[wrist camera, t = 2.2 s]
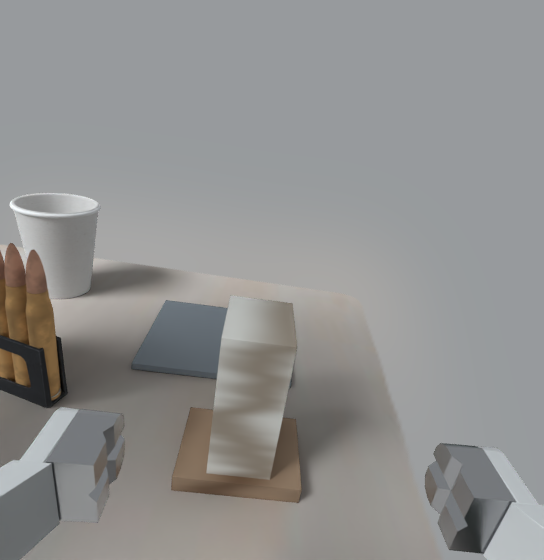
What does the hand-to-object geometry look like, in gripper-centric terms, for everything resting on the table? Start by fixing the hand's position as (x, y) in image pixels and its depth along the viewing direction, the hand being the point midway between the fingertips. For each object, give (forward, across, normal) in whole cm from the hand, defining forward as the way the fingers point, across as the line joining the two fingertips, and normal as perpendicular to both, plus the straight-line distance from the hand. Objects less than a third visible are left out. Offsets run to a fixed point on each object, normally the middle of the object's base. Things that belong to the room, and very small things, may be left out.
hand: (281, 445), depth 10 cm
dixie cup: (+33, +23, +14) cm, 43 cm away
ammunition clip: (+17, +20, +14) cm, 30 cm away
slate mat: (+26, +4, +14) cm, 30 cm away
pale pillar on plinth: (+12, +1, +14) cm, 19 cm away
